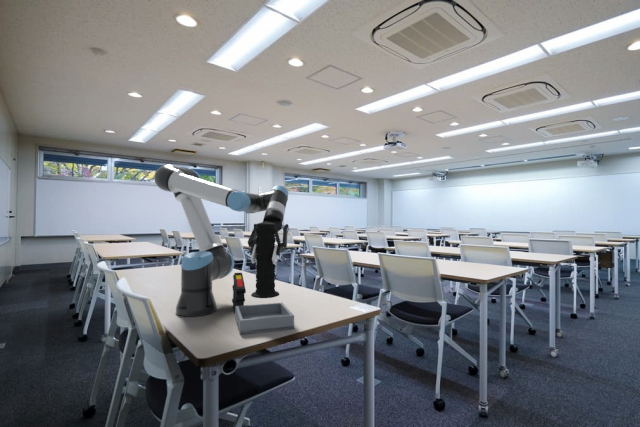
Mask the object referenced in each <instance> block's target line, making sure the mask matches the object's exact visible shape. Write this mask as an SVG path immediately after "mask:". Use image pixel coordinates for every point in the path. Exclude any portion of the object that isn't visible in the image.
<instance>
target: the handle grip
mask: <svg viewBox="0 0 640 427" xmlns="http://www.w3.org/2000/svg"><path fill="white" fill-rule="evenodd" d="M255 224H256V225H257V229H256V233H257V235H256V237H257V238H256V243H257V244H256V245H257V246H256V252H257V253H256V254H257V255H256V259H255V261H256V262H255V264H256V265H255V270H256V271H255V291H253V292H252V293H251V294H250V296H251V297H252V298H255V299H271V298H276V297H279V296H280V293H279V291H277V290H276V289H275V287H276V283H275V281H276V279H275V278H276V273H275V272H276V270H275V269H276V263H275V264H273V261H272V257H273V252H274V248H275V245H276V237H275V224H274V223H270V222H267V221H265V222H263V221H262V222H259V223H255Z"/></svg>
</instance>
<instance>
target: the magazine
mask: <svg viewBox="0 0 640 427" xmlns="http://www.w3.org/2000/svg"><path fill="white" fill-rule="evenodd" d="M232 277H233V278H232V279H233V285H232V287H231V288H232V293H233V294H232V298H231V303H232V308H233V311H234V312H235V306H244V305H245V301H246V299H245V294H246V292H247V291H246V290H247V289H246V286H245V282H244V281H245V280H244V276H243V272H234V274H233V275H232Z"/></svg>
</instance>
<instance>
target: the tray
mask: <svg viewBox="0 0 640 427" xmlns="http://www.w3.org/2000/svg"><path fill="white" fill-rule="evenodd" d="M234 312H235V313H234V317H235V322H236V326H237V330H238V332H239V335H249V334H257V333H258V334H259V333H269V332H277V331H287V330H294V329H295V315H294V314H293V313H292V311H291V310H290V309H289V308H288V306H286V305H285V304H284V302H272V303H271V302H270V303H258V304H246V305H245V304H244V306H235V311H234Z"/></svg>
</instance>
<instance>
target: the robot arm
mask: <svg viewBox="0 0 640 427" xmlns="http://www.w3.org/2000/svg"><path fill="white" fill-rule="evenodd" d="M153 179H154V182H155V184H156V186H157V187H158V188H159V189H160V190H163V191H165V192H170V193H173V195H174V198H175V200H176V201H177V202H180V203H181V206H182V208H183V211H184V214H185V216H186V219H187V221H188V224H189V227H190V230H191V231H192V234H193V236H194V239H195V242H196V244H197V248H198V250H199V251H192V252H188V253H185V255H183V256H182V258H181V264H180V267H181V277H180V278H181V280H180V281H181V283H180V284H181V285H180V290H181V291H180V296H179V298H178V300H177V303H176V306H175V314H176V315H178V316H180V315H181V316H183V317H200V316H204V315H205V316H207V315H209V314H212V313H214V312H216V311H217V303H216V300H215V296H214V293H213V281H216V280H220V279H223V278H225V277H227V276H229V275H230V274H231V273H232V272H233V269H234V267H235V258H234V257H233V255H232V253H230V252H228V251H227V250H226V248H225V246H224V244H222V243H221V242H219V240H218V238H217V235H216V233H215V231H214V229H213V226H212V223H211V220H210V218H209V216H208V213H207V210H206V209H205V205H204V203H203V200H205V201H209V202H211V203H213V204H217V205H220V206H224V207H228V208H229V209H231V210H232V211H235V212H244V213H246V214H255V213H259V212H265V213H264V217H263V220H262V222H265V221H267V222H270V223H274V224H275V236H274V237H275V242H276V244H275V245H274V246H275V248H274V252H273V257H272V261H273V264H275V265H276V262H277V258H278V256H280V255H281V251H282V248H284V249H286V248H287V247H288V232H289V231H290V228H289V224H287V223H286V224H285V225H284V224H283V221H284V218H285V217H284V216H285V212H286V208H287V203H288V199H289V190H288V189H287V188H286V187H285V186H284V185H274V186H273V187H272V188H271V190H270V191H268V192H264V193H258V194H257V193H256V194H255V193H249V192H245V191H242V190H238V189H235V188H234V189H233V188H231V187H227V186H225V185H221V184H219V183H218V184H217V183H215V182H212V181H211V182H210V181H208V180H205V179H202V177H201V176H200V174H199V172H197V171H195V170H193V169H192V168H189V167H188V168H187V167H181V166H178V165H173V164H164V165H162V166H160V167H159V168H157V169H156V171H155V172H154V178H153ZM256 224H257V223H253V229H252V231H251V233H250V236H249V238H248V240H247V245H248V248H250V251H249V252H250V255H251V256H250V261H251V264H255V263H256V262H255V261H256V255H257V254H256V253H257V252H256V246H257V245H256V244H257V243H256V238H257V236H256V235H257V233H256V229H257V225H256ZM281 230H282V242H281V240H280V235H279V231H281ZM181 316H180V317H181Z"/></svg>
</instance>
